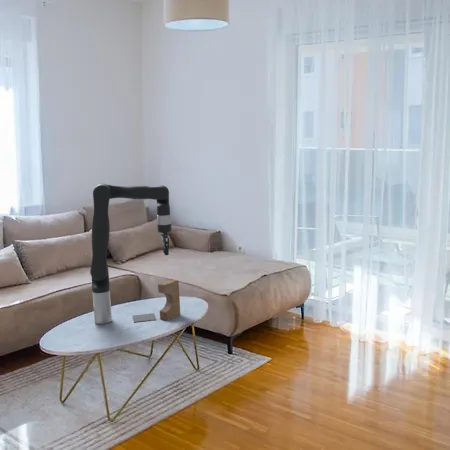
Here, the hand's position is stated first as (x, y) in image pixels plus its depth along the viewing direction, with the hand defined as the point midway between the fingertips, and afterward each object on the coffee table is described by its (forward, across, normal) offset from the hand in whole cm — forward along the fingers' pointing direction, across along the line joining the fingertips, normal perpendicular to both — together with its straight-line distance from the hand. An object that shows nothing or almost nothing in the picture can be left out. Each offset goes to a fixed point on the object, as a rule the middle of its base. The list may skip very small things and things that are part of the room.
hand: (166, 253), depth 322 cm
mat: (+35, -2, -14) cm, 38 cm away
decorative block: (+35, +2, 0) cm, 36 cm away
